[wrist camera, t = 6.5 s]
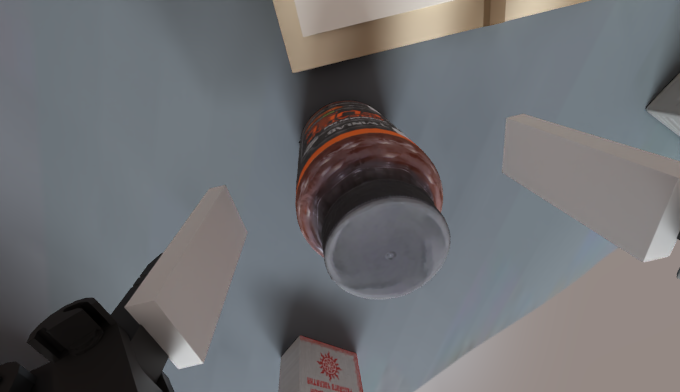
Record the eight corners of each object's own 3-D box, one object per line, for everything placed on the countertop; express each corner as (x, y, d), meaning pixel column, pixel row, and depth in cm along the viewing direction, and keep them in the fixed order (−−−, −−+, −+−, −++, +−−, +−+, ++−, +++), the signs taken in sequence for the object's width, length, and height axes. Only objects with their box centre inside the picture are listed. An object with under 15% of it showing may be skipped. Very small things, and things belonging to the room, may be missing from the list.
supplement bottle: (366, 79, 17) (459, 119, 7) (401, 160, 19) (504, 276, 9) (281, 127, 17) (250, 228, 7) (326, 199, 20) (348, 344, 10)
